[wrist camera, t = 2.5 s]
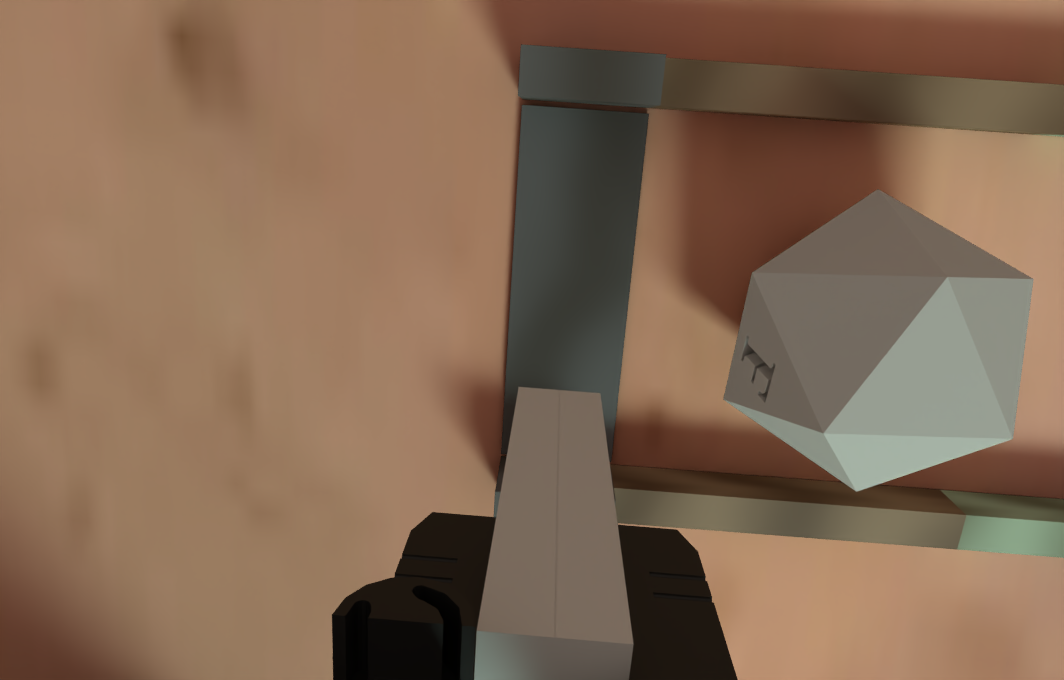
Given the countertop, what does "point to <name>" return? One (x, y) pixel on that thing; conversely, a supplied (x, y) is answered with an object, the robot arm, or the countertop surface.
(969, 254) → the die
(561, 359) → the trap channel
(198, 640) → the countertop surface
